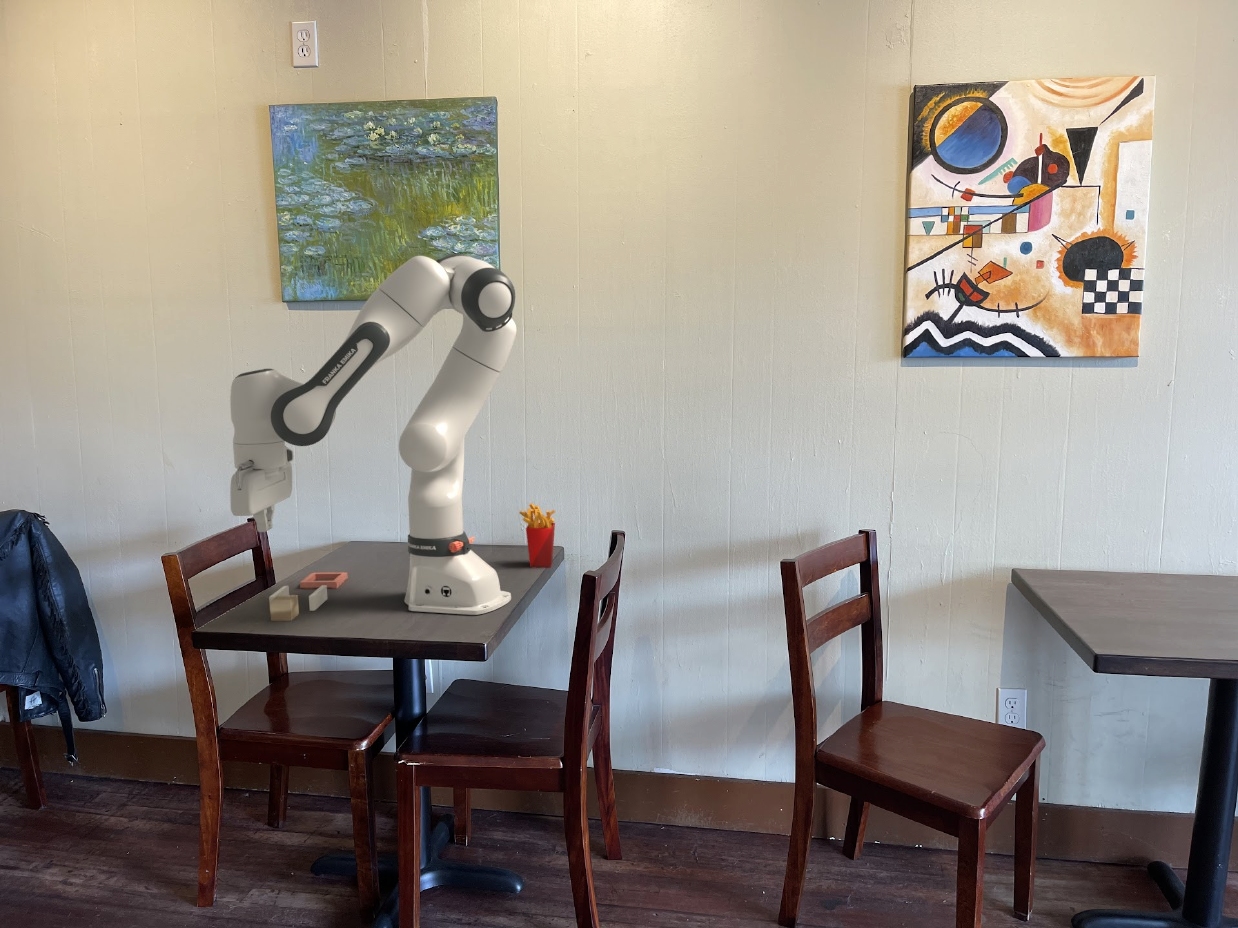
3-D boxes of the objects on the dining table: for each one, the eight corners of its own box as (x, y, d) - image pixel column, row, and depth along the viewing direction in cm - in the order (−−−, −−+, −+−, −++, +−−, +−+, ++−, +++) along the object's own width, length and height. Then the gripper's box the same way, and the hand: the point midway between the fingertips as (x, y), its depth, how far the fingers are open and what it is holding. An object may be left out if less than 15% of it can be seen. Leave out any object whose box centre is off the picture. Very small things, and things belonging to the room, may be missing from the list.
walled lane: (314, 610, 173) (313, 596, 173) (270, 611, 173) (269, 596, 173) (327, 598, 181) (326, 585, 181) (284, 599, 181) (283, 585, 181)
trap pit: (336, 588, 189) (336, 581, 189) (300, 588, 189) (300, 582, 189) (347, 578, 197) (347, 572, 197) (312, 579, 197) (312, 572, 197)
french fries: (556, 561, 211) (555, 501, 209) (553, 570, 203) (552, 508, 201) (521, 561, 211) (519, 502, 209) (516, 570, 203) (514, 508, 201)
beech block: (291, 620, 167) (290, 601, 167) (271, 621, 167) (269, 601, 167) (298, 614, 171) (297, 595, 171) (278, 614, 171) (277, 595, 171)
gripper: (254, 464, 148) (259, 542, 149) (296, 450, 168) (300, 519, 170) (217, 465, 147) (223, 543, 149) (264, 450, 168) (269, 519, 170)
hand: (265, 530), depth 160 cm, fingers closed
